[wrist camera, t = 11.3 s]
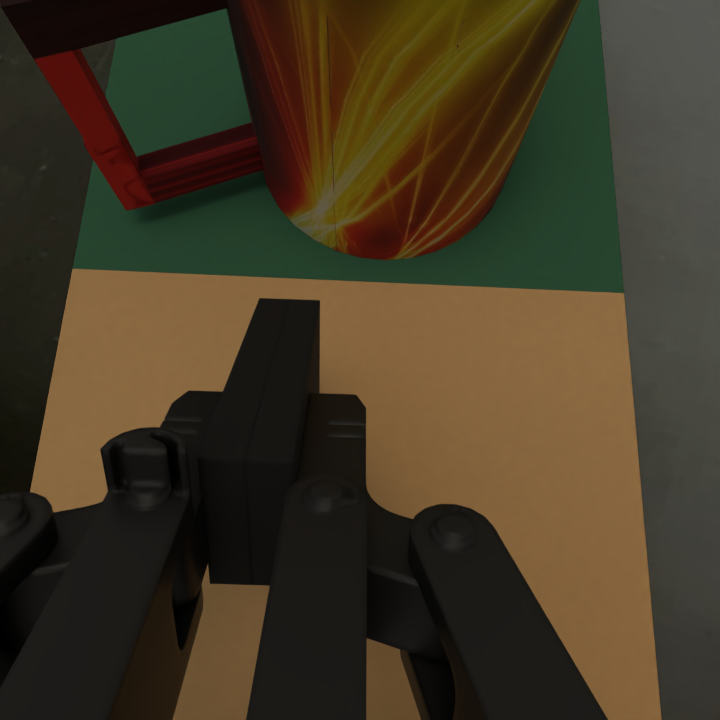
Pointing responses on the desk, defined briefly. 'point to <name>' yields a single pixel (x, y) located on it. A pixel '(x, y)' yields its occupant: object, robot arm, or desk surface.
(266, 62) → the mug
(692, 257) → the desk surface
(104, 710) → the robot arm
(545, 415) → the desk mat
